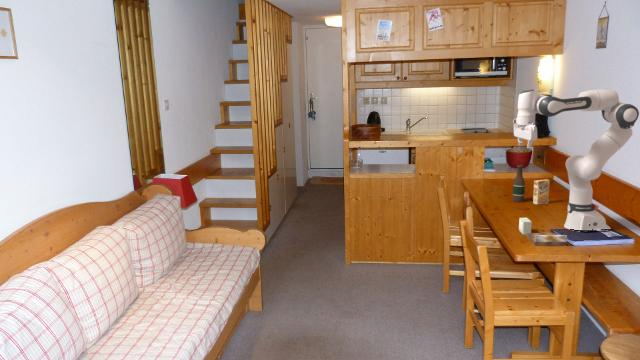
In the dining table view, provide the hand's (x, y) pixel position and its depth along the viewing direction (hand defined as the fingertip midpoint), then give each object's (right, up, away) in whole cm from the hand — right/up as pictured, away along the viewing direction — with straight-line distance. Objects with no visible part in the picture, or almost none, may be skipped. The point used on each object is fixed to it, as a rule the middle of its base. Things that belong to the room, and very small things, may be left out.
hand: (524, 147), depth 277 cm
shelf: (+6, -49, -12) cm, 50 cm away
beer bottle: (+22, -32, +67) cm, 77 cm away
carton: (+1, -46, +3) cm, 46 cm away
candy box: (+34, -33, +59) cm, 76 cm away
